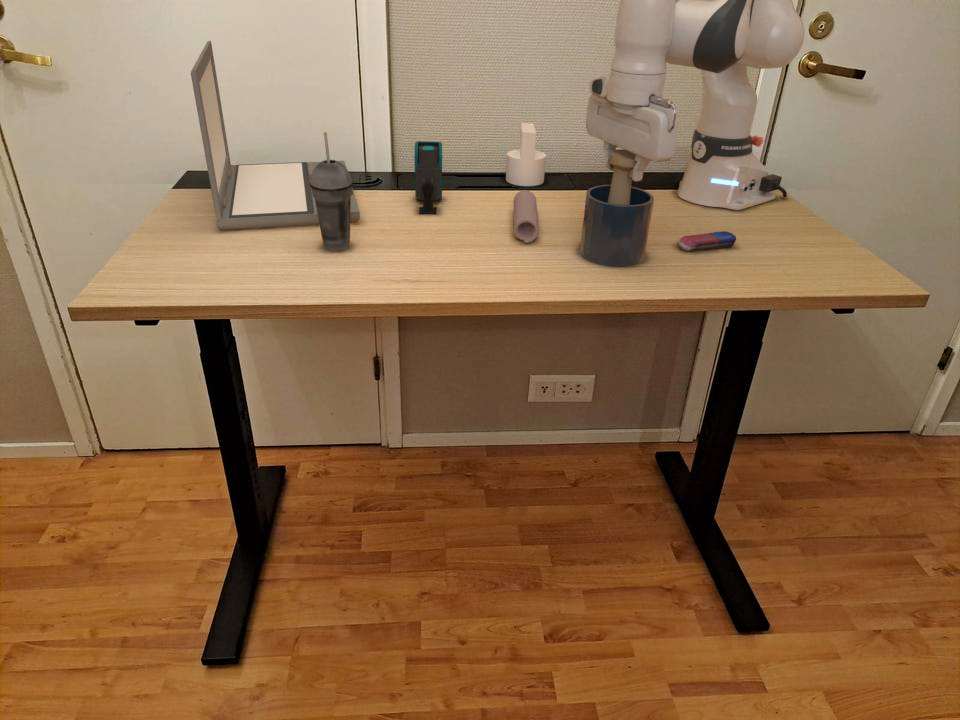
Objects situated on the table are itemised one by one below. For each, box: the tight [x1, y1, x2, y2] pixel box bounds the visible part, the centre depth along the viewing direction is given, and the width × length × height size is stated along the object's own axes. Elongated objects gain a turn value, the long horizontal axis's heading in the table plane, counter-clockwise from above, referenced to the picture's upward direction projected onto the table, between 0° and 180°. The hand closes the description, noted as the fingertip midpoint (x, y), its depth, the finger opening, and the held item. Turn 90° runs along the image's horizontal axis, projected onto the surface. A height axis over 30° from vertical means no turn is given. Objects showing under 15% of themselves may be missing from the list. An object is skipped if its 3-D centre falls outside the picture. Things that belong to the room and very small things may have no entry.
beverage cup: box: [310, 131, 354, 253], centre depth 120 cm, size 7×7×20 cm
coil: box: [513, 189, 540, 244], centre depth 136 cm, size 5×5×18 cm
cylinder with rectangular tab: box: [505, 122, 547, 187], centre depth 160 cm, size 9×9×12 cm
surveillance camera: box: [414, 140, 443, 215], centre depth 142 cm, size 6×12×10 cm
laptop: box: [190, 40, 361, 231], centre depth 139 cm, size 35×26×28 cm
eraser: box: [678, 230, 737, 252], centre depth 131 cm, size 11×4×2 cm, turn 107°
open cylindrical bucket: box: [579, 184, 655, 268], centre depth 124 cm, size 12×12×11 cm
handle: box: [608, 149, 637, 205], centre depth 121 cm, size 5×6×15 cm
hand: (622, 174), depth 119 cm, fingers closed on handle, 5 cm apart
